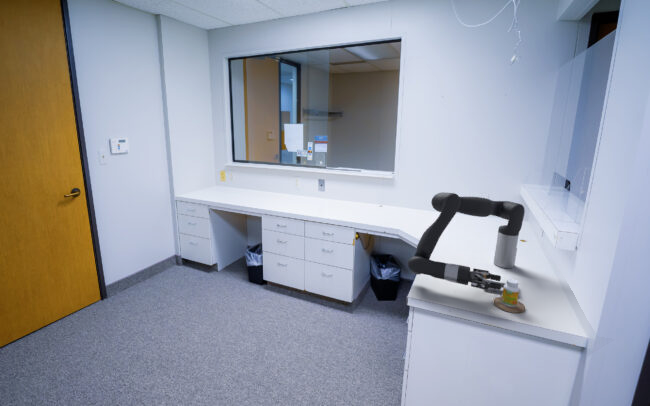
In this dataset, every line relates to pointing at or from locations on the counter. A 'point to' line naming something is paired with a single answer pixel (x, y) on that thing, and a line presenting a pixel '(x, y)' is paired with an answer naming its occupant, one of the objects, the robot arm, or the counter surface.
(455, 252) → the counter surface
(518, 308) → the walnut pad
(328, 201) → the counter surface
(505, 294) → the supplement bottle
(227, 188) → the counter surface
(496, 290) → the grey rectangular frame
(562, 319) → the counter surface
